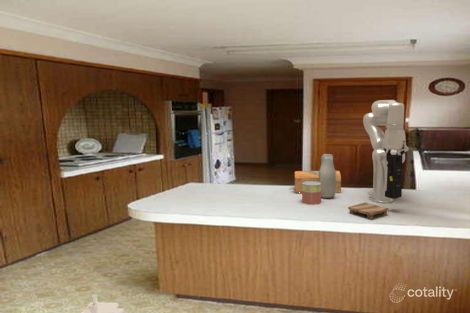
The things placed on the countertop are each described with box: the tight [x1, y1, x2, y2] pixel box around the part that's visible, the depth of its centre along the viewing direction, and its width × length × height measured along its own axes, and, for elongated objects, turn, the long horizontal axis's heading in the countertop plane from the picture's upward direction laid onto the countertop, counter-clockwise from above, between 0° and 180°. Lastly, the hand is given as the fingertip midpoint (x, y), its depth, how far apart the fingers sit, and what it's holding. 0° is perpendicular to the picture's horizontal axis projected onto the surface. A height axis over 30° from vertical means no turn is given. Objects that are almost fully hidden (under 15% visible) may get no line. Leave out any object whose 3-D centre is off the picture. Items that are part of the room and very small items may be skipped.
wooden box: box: [294, 170, 342, 194], centre depth 228 cm, size 30×16×14 cm, turn 81°
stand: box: [347, 202, 389, 221], centre depth 175 cm, size 14×14×4 cm
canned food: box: [301, 181, 322, 206], centre depth 199 cm, size 11×11×12 cm
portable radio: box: [385, 153, 403, 200], centre depth 176 cm, size 8×6×25 cm
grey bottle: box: [318, 153, 336, 199], centre depth 207 cm, size 10×10×28 cm
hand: (394, 161), depth 175 cm, fingers closed on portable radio, 5 cm apart
